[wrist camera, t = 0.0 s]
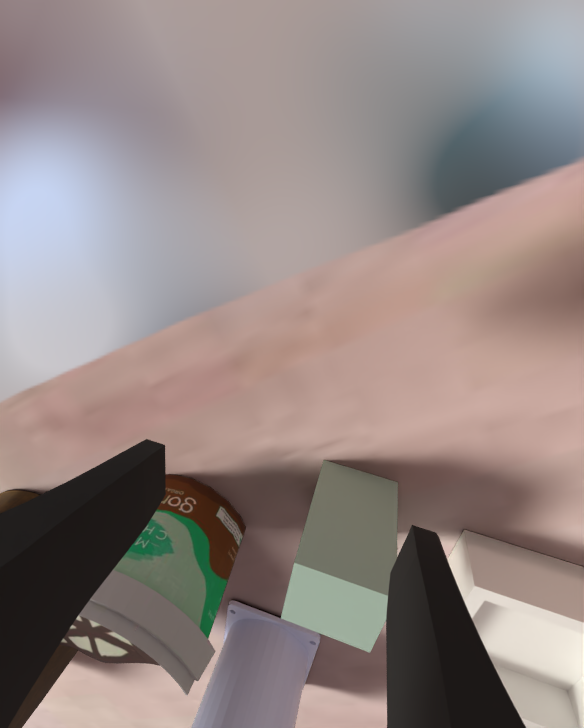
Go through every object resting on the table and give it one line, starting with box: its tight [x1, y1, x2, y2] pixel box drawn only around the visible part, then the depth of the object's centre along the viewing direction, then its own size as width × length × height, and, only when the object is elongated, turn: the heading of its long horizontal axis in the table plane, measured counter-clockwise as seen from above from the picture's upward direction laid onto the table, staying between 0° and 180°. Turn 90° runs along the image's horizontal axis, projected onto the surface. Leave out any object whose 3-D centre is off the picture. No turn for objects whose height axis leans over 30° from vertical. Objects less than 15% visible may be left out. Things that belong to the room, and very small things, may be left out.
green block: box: [281, 460, 398, 653], centre depth 20 cm, size 4×4×7 cm
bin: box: [448, 530, 584, 728], centre depth 22 cm, size 11×11×4 cm
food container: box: [60, 474, 246, 695], centre depth 23 cm, size 12×6×10 cm, turn 104°
